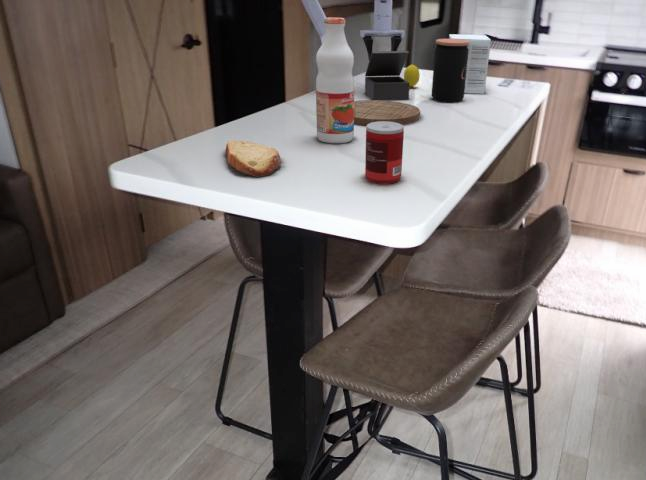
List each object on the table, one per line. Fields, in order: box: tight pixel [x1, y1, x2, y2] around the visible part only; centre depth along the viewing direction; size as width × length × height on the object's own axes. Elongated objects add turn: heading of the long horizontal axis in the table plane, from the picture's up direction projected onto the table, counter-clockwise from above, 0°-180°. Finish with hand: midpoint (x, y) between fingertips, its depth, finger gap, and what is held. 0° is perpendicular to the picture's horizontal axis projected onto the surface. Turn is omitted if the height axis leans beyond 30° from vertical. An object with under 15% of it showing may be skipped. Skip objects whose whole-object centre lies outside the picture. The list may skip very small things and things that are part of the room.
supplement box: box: [448, 33, 492, 95], centre depth 207 cm, size 13×13×18 cm
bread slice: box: [225, 140, 282, 178], centre depth 132 cm, size 18×18×4 cm
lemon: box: [403, 63, 421, 89], centre depth 211 cm, size 6×6×8 cm
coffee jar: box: [431, 38, 469, 104], centre depth 192 cm, size 11×11×18 cm
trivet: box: [354, 99, 421, 127], centre depth 174 cm, size 25×25×2 cm
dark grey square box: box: [364, 75, 410, 101], centre depth 197 cm, size 12×12×5 cm
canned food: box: [364, 121, 405, 185], centre depth 123 cm, size 8×8×11 cm
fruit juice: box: [315, 16, 355, 144], centre depth 144 cm, size 9×9×28 cm
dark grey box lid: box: [364, 50, 410, 77], centre depth 195 cm, size 12×12×4 cm
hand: (381, 60), depth 200 cm, fingers open, 7 cm apart
